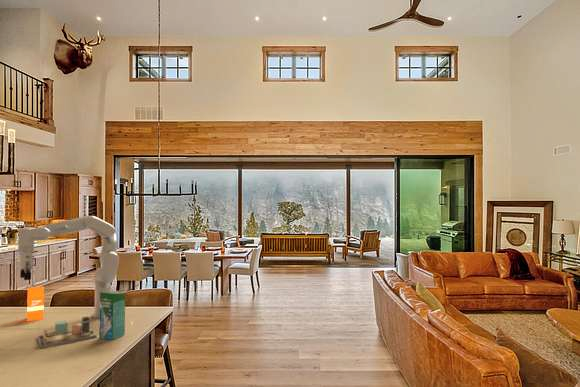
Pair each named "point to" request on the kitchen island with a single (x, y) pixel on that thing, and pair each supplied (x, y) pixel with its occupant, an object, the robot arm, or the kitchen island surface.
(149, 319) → the kitchen island surface
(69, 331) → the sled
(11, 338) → the kitchen island surface
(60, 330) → the teal cube
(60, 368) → the kitchen island surface
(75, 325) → the rounded peach cylinder
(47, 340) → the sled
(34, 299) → the orange juice
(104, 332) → the milk carton
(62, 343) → the lane frame
